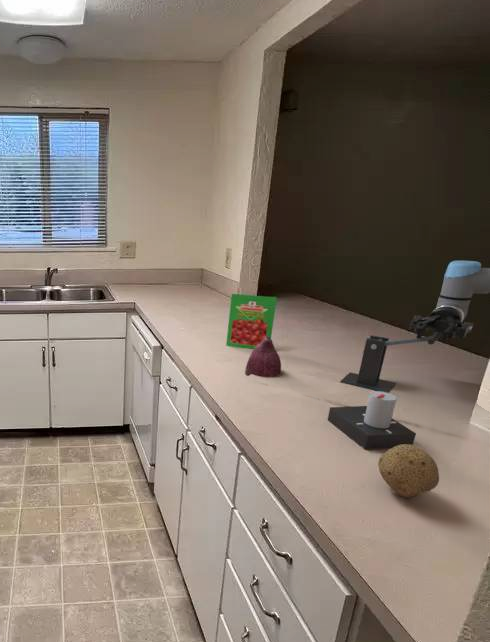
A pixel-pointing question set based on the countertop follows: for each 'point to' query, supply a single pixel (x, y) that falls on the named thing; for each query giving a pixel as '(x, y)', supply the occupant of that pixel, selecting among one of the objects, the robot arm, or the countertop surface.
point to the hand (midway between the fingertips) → (431, 335)
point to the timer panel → (369, 429)
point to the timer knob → (380, 409)
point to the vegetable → (264, 360)
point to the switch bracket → (371, 367)
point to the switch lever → (414, 340)
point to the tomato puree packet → (250, 320)
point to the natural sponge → (408, 470)
